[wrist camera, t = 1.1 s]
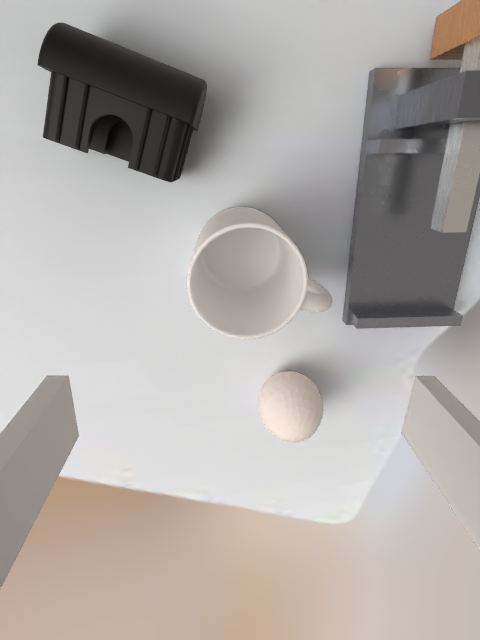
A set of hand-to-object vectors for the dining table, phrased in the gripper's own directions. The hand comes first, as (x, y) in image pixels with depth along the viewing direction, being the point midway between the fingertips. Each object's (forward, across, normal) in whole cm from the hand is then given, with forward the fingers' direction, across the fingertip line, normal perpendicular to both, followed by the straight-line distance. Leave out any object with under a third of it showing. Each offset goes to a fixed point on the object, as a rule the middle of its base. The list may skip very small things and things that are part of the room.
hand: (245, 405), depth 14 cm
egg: (+23, +6, -14) cm, 27 cm away
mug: (+23, +3, 0) cm, 23 cm away
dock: (+23, +16, +5) cm, 28 cm away
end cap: (+23, -8, +12) cm, 27 cm away
